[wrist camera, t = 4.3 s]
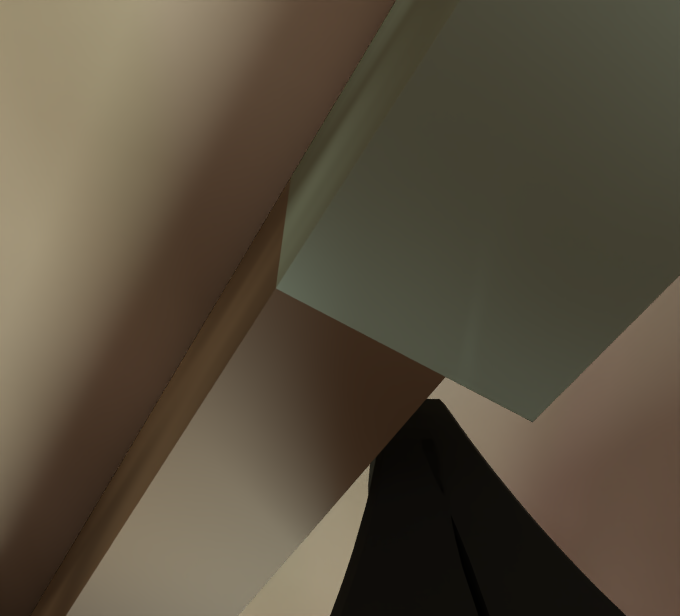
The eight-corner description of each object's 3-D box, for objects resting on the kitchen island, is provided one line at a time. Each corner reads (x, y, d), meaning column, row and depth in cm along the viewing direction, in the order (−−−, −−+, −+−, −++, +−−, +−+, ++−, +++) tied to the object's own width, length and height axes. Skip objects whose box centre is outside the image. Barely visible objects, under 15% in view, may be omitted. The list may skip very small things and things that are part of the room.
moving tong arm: (130, 691, 15) (82, 871, 12) (6, 657, 14) (-80, 843, 11) (646, 51, 8) (858, 95, 5) (459, -106, 7) (571, -174, 4)
